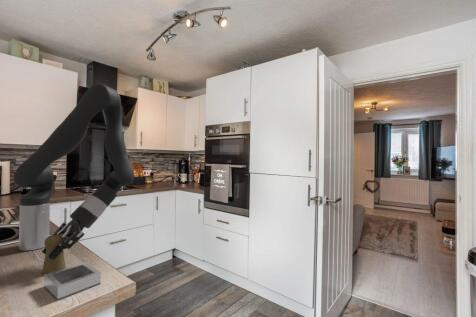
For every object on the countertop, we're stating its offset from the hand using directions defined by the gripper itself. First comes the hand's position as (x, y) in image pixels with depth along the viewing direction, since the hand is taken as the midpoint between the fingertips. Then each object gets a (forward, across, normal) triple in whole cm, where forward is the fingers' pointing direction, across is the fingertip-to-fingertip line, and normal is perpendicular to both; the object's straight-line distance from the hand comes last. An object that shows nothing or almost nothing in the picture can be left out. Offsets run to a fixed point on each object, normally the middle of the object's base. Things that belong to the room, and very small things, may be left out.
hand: (47, 255), depth 76 cm
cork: (+2, 0, +5) cm, 6 cm away
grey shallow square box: (+2, +15, +5) cm, 16 cm away
